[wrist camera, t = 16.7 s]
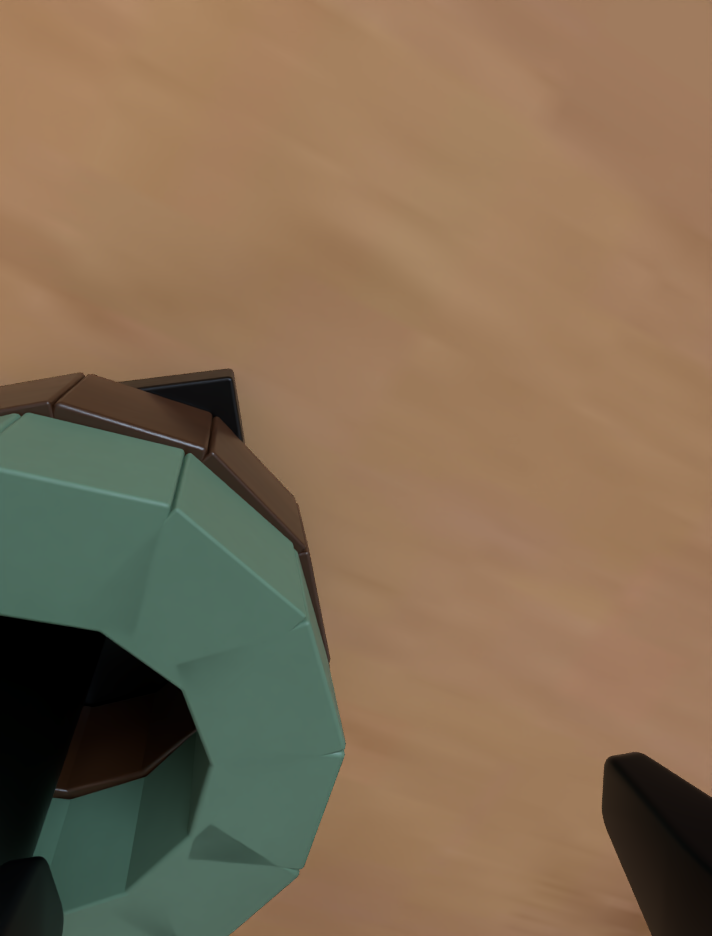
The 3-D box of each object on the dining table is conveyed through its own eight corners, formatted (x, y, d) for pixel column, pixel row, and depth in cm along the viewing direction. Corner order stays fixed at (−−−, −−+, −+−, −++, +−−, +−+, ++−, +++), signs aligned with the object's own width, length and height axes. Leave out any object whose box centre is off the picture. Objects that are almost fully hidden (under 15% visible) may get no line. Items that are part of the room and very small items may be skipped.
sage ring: (365, 790, 13) (390, 901, 11) (-94, 934, 12) (-166, 1085, 10) (242, 355, 10) (243, 387, 8) (-390, 512, 9) (-590, 597, 7)
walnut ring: (340, 719, 16) (357, 799, 13) (-60, 817, 15) (-113, 921, 12) (266, 339, 12) (272, 360, 10) (-254, 430, 11) (-374, 475, 9)
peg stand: (283, 683, 16) (323, 1061, 9) (-58, 748, 15) (-344, 1239, 8) (233, 367, 13) (227, 521, 6) (-187, 419, 12) (-834, 684, 5)
